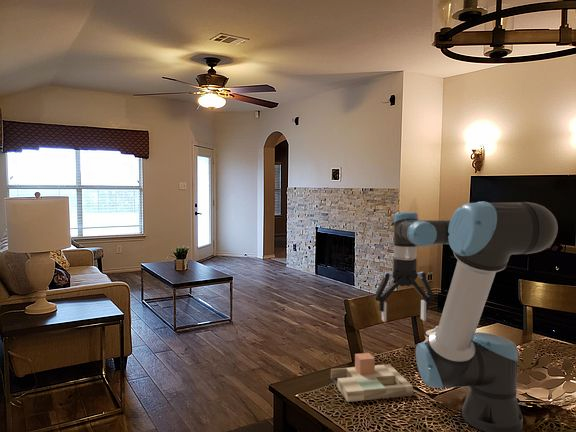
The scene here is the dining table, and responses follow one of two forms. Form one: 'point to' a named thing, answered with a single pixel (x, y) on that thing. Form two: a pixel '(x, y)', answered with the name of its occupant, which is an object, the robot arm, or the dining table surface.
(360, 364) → the block
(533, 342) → the dining table surface
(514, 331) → the dining table surface
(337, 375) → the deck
